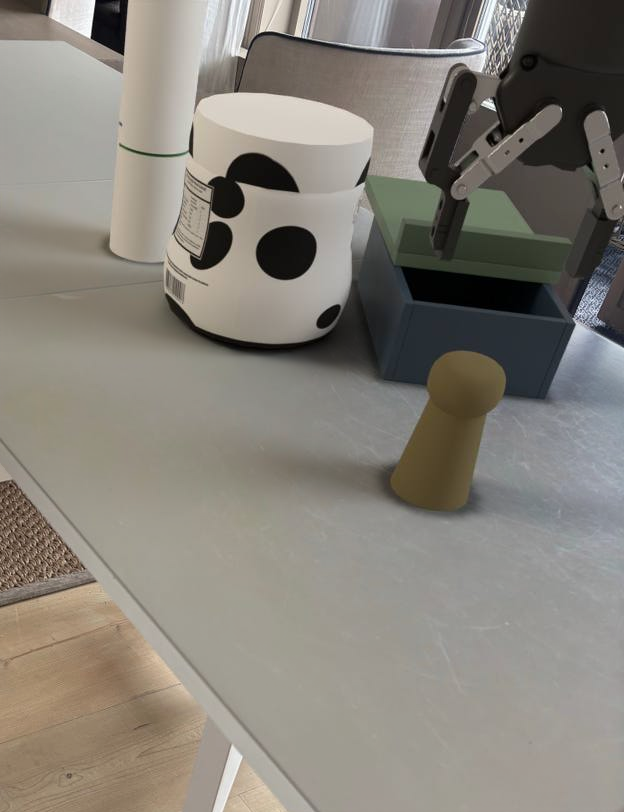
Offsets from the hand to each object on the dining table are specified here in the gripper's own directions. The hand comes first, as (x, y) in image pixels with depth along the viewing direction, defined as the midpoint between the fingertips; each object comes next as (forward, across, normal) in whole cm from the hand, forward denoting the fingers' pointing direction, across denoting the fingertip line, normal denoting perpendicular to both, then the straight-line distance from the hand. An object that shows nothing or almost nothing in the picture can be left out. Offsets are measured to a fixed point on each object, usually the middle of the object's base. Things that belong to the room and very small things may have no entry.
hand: (508, 265), depth 62 cm
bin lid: (+10, +6, +37) cm, 39 cm away
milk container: (+18, -13, +27) cm, 35 cm away
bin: (+17, +6, +28) cm, 34 cm away
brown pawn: (+18, 0, 0) cm, 18 cm away
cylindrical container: (+18, -24, +41) cm, 51 cm away
